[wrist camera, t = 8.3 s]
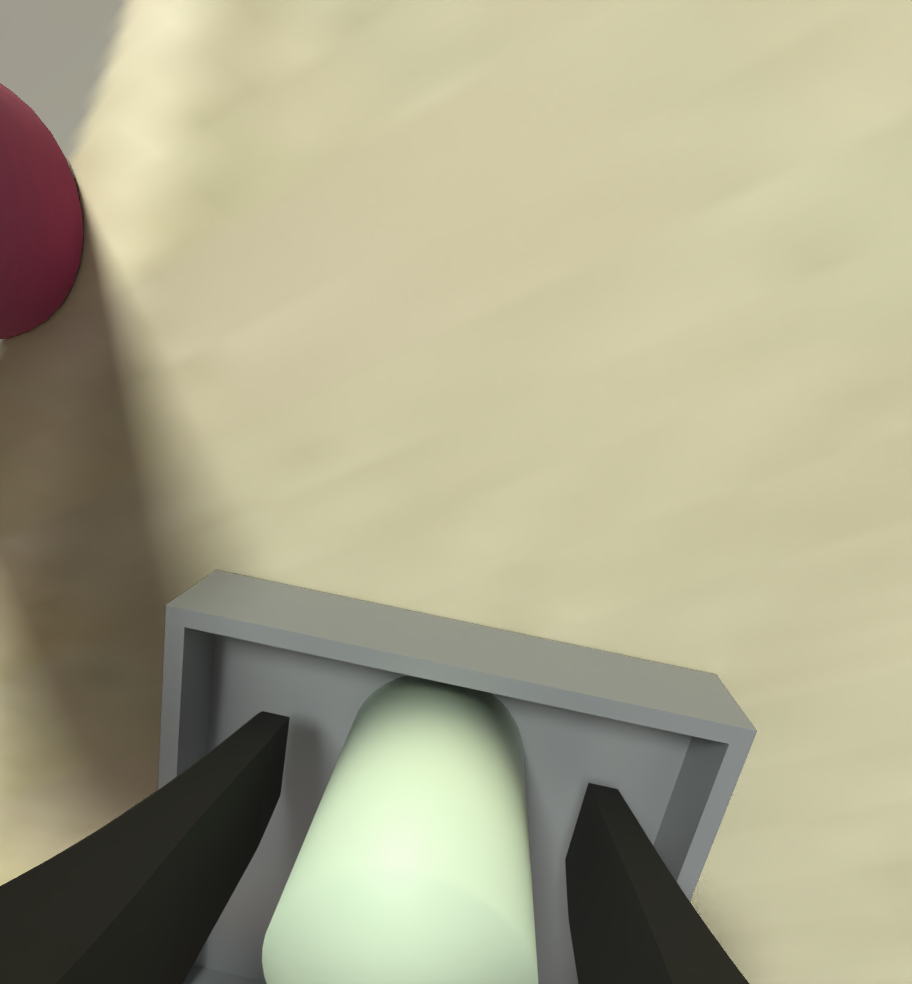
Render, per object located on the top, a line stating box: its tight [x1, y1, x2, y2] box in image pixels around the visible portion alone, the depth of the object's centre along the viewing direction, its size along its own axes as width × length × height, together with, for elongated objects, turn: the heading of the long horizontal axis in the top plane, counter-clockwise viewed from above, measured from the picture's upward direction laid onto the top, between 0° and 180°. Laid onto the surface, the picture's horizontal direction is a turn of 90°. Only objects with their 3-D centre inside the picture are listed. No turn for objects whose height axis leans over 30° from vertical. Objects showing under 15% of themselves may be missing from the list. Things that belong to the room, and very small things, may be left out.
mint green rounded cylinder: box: [262, 675, 538, 984], centre depth 9 cm, size 4×4×4 cm
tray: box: [158, 570, 757, 984], centre depth 12 cm, size 12×12×2 cm
